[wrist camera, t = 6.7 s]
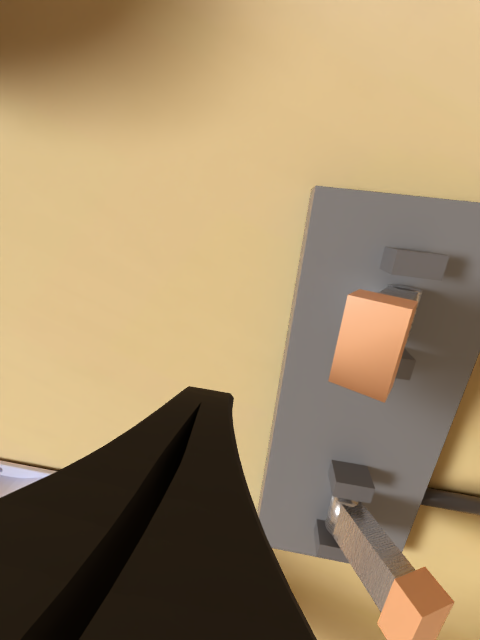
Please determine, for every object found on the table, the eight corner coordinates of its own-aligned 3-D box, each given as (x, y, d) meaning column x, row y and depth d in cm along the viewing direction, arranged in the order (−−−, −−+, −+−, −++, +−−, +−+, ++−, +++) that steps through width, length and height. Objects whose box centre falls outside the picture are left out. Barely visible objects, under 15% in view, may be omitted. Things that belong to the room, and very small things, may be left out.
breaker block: (256, 517, 22) (252, 570, 19) (311, 189, 15) (320, 181, 12) (486, 561, 21) (525, 626, 18) (660, 226, 14) (779, 228, 11)
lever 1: (372, 335, 16) (328, 381, 10) (387, 275, 15) (347, 294, 9) (412, 346, 15) (384, 402, 10) (431, 283, 14) (412, 309, 9)
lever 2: (316, 523, 19) (401, 663, 13) (326, 485, 18) (422, 617, 12) (341, 516, 19) (432, 646, 14) (352, 478, 18) (454, 601, 13)
